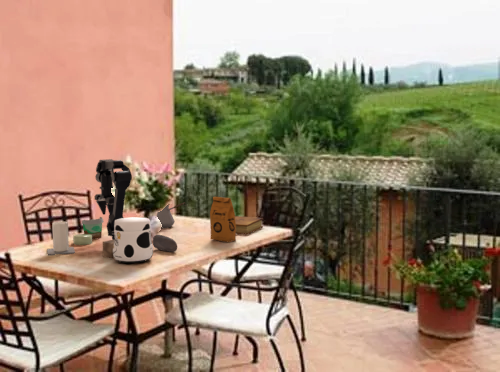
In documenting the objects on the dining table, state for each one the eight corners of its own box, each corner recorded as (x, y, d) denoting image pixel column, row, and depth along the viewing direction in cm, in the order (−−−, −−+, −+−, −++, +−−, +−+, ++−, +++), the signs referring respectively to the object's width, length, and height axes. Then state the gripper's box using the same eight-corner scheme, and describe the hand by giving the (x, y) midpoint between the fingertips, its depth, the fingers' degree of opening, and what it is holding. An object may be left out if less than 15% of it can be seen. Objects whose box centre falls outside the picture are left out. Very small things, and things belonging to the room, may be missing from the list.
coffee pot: (149, 227, 357) (149, 200, 356) (163, 224, 367) (162, 198, 365) (179, 231, 346) (178, 203, 344) (192, 227, 355) (192, 201, 353)
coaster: (73, 248, 305) (73, 246, 305) (75, 253, 294) (75, 252, 294) (47, 250, 301) (47, 248, 301) (47, 255, 290) (47, 254, 290)
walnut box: (122, 256, 288) (121, 241, 287) (111, 258, 283) (110, 243, 282) (113, 254, 292) (113, 239, 291) (103, 257, 287) (102, 241, 286)
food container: (90, 240, 322) (89, 221, 321) (82, 239, 326) (81, 220, 324) (109, 236, 332) (108, 217, 330) (101, 235, 335) (100, 216, 334)
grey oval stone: (181, 252, 295) (180, 237, 294) (172, 254, 292) (171, 239, 291) (160, 247, 306) (160, 233, 305) (151, 249, 302) (151, 235, 301)
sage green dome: (95, 243, 316) (94, 235, 315) (77, 246, 310) (77, 238, 310) (88, 240, 323) (87, 233, 322) (70, 243, 317) (70, 235, 317)
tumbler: (70, 250, 297) (69, 222, 295) (56, 252, 293) (55, 224, 292) (65, 248, 302) (64, 221, 301) (52, 250, 298) (50, 222, 297)
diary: (232, 225, 364) (232, 215, 363) (263, 228, 357) (263, 217, 356) (215, 232, 343) (215, 222, 342) (247, 235, 336) (247, 224, 335)
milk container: (105, 260, 279) (104, 220, 277) (138, 254, 291) (137, 215, 289) (127, 267, 267) (126, 225, 265) (161, 260, 279) (160, 220, 277)
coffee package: (226, 243, 313) (225, 199, 310) (207, 240, 321) (207, 197, 318) (239, 240, 321) (239, 197, 318) (220, 237, 328) (220, 195, 326)
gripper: (130, 185, 314) (130, 216, 316) (114, 181, 329) (115, 211, 331) (108, 187, 307) (109, 219, 309) (93, 183, 322) (94, 213, 324)
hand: (107, 215), depth 319 cm, fingers open, 9 cm apart
